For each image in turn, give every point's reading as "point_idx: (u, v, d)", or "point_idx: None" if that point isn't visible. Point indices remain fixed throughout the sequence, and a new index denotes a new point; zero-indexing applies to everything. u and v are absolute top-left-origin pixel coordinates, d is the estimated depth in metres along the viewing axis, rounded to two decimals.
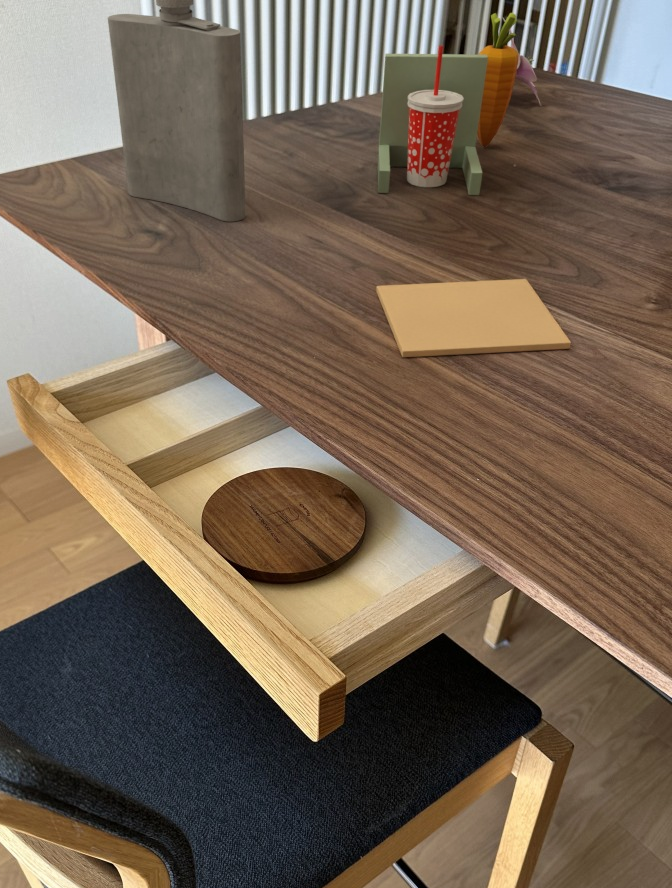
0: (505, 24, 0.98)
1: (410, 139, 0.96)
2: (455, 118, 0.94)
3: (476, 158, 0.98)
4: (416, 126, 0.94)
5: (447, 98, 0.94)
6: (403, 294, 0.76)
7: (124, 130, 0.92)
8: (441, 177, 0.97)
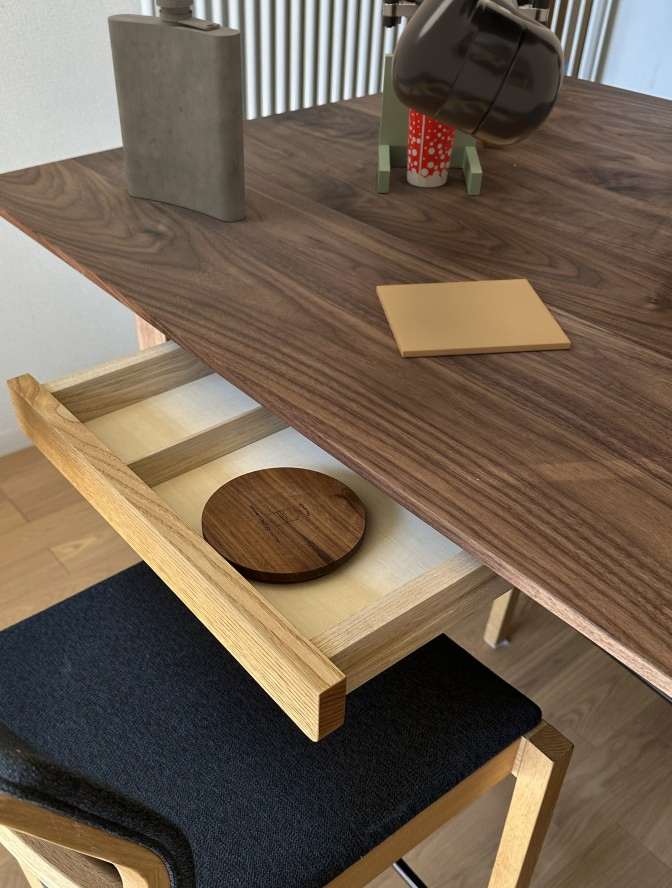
0: None
1: (410, 139, 0.96)
2: None
3: (476, 158, 0.98)
4: (416, 126, 0.94)
5: None
6: (403, 294, 0.76)
7: (124, 130, 0.92)
8: (441, 177, 0.97)
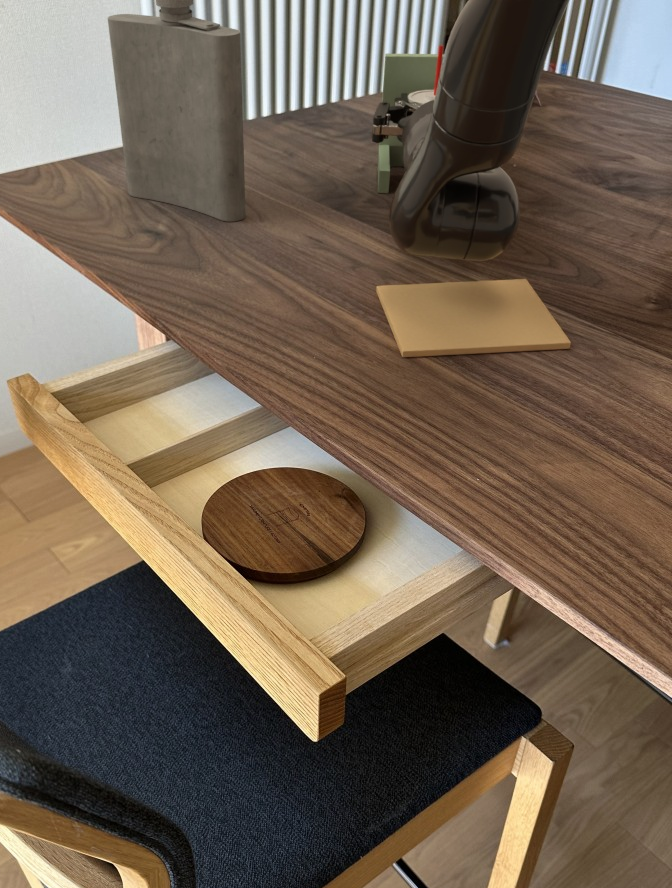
0: None
1: None
2: None
3: None
4: None
5: None
6: (403, 294, 0.76)
7: (124, 130, 0.92)
8: None
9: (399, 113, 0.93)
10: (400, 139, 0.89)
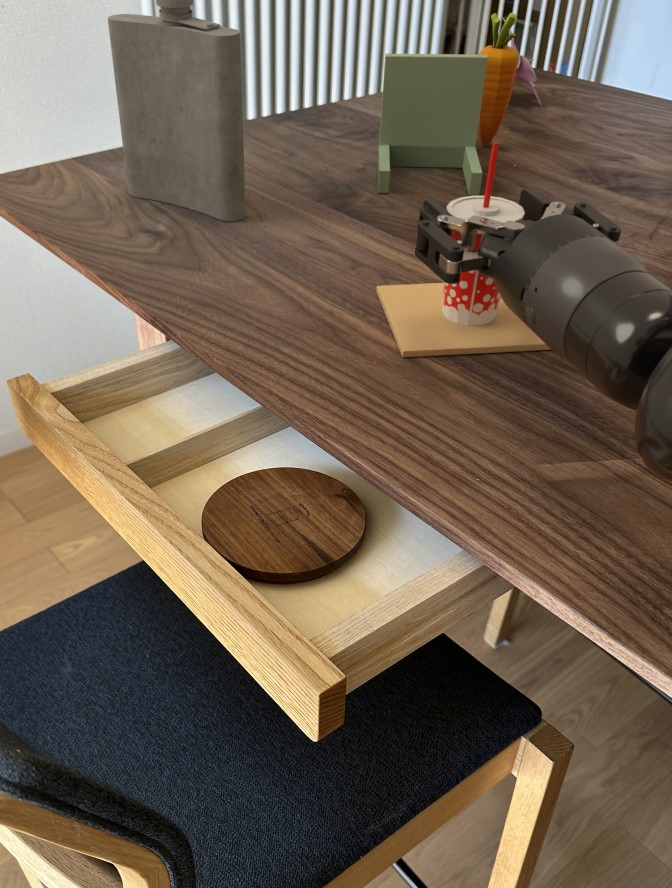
0: (505, 24, 0.98)
1: None
2: None
3: (476, 158, 0.98)
4: None
5: (500, 209, 0.68)
6: (403, 294, 0.76)
7: (124, 130, 0.92)
8: (496, 309, 0.72)
9: None
10: (486, 273, 0.61)
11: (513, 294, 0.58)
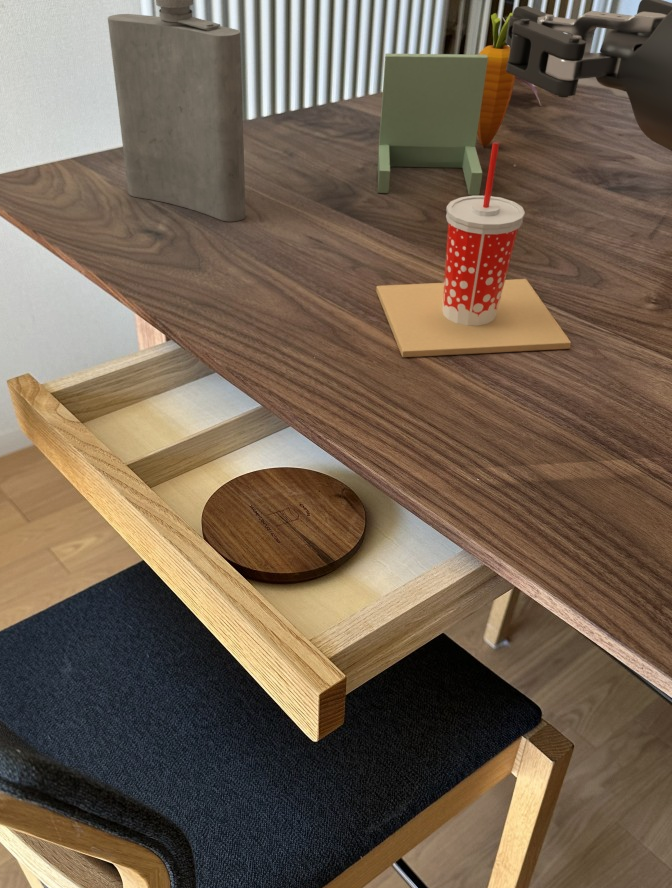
0: (505, 24, 0.98)
1: (455, 268, 0.69)
2: (516, 234, 0.68)
3: (476, 158, 0.98)
4: (469, 252, 0.67)
5: (500, 209, 0.68)
6: (403, 294, 0.76)
7: (124, 130, 0.92)
8: (496, 309, 0.72)
9: None
10: (614, 81, 0.44)
11: (659, 98, 0.42)
